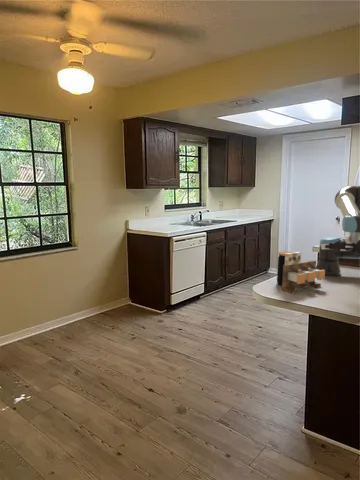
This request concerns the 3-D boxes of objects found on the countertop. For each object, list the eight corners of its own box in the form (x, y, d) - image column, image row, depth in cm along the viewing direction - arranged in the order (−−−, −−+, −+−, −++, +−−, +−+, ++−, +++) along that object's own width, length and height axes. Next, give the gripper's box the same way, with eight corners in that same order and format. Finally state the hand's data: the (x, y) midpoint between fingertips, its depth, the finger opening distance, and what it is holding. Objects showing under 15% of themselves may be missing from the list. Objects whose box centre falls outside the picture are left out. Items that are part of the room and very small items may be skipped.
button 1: (292, 279, 190) (292, 270, 190) (304, 282, 183) (305, 273, 183) (286, 280, 188) (286, 271, 187) (298, 284, 181) (299, 274, 180)
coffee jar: (293, 287, 194) (295, 255, 191) (274, 284, 199) (276, 253, 197) (298, 283, 203) (300, 252, 200) (280, 280, 208) (281, 250, 206)
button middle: (302, 277, 194) (302, 268, 194) (314, 280, 188) (315, 271, 187) (296, 278, 192) (296, 269, 191) (308, 281, 185) (309, 272, 184)
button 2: (311, 275, 199) (312, 267, 198) (324, 278, 192) (325, 270, 191) (306, 276, 196) (306, 268, 195) (318, 279, 189) (319, 271, 188)
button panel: (311, 284, 201) (313, 249, 198) (320, 286, 196) (323, 251, 193) (281, 290, 189) (283, 253, 186) (290, 293, 184) (293, 255, 181)
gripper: (348, 254, 160) (313, 253, 180) (385, 256, 170) (348, 255, 190) (348, 237, 161) (313, 238, 180) (386, 241, 171) (348, 241, 190)
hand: (331, 247), depth 185 cm, fingers open, 13 cm apart
